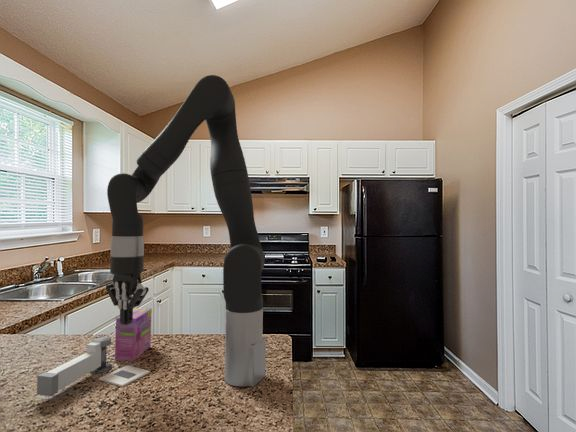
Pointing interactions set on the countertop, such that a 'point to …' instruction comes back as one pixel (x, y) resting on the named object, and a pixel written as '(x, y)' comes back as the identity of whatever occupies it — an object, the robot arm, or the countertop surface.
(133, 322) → the box
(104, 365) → the grey pedestal stand
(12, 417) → the countertop surface
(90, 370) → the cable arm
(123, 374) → the label tile
